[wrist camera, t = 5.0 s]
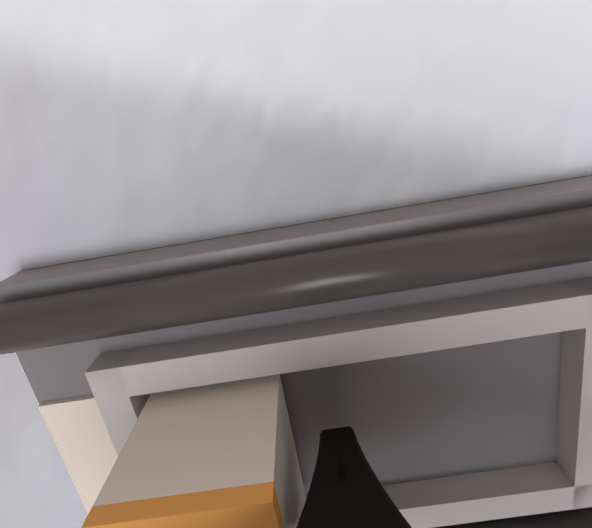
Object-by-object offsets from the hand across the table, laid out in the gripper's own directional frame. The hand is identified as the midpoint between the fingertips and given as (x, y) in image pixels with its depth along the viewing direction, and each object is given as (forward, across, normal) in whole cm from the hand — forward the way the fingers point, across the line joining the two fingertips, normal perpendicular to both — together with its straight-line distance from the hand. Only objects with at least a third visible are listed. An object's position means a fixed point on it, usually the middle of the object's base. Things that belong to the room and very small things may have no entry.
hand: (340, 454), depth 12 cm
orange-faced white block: (+1, +3, 0) cm, 4 cm away
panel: (+3, -1, 0) cm, 3 cm away
